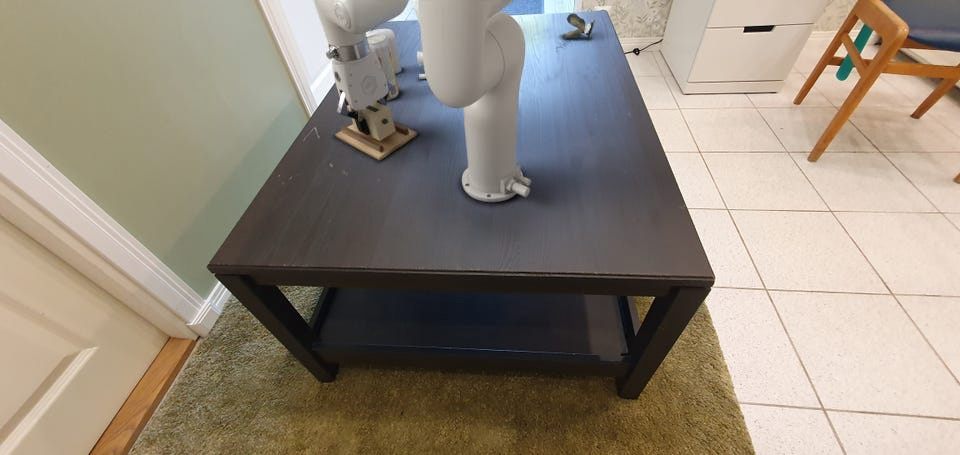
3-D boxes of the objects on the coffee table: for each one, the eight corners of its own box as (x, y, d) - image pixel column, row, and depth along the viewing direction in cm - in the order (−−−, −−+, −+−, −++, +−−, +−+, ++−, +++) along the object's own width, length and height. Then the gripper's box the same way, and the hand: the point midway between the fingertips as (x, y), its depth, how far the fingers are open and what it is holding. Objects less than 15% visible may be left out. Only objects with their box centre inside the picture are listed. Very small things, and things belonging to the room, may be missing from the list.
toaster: (370, 119, 92) (363, 96, 87) (398, 131, 88) (392, 108, 83) (355, 128, 89) (346, 105, 85) (382, 142, 85) (375, 119, 81)
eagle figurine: (591, 28, 124) (565, 21, 124) (598, 13, 117) (570, 6, 117) (586, 48, 123) (559, 42, 124) (592, 35, 116) (564, 28, 116)
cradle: (373, 114, 97) (371, 106, 95) (417, 135, 90) (415, 126, 88) (336, 137, 91) (332, 129, 89) (379, 160, 84) (377, 152, 82)
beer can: (388, 87, 106) (374, 32, 95) (404, 93, 103) (392, 36, 92) (373, 97, 103) (357, 41, 91) (388, 103, 100) (374, 46, 89)
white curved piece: (398, 66, 114) (389, 23, 105) (404, 71, 112) (395, 28, 103) (367, 76, 111) (354, 33, 102) (372, 82, 108) (360, 38, 99)
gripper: (326, 70, 69) (356, 150, 82) (394, 37, 77) (411, 115, 91) (303, 60, 72) (335, 139, 86) (370, 30, 81) (390, 106, 94)
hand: (374, 126), depth 88 cm, fingers closed on toaster, 5 cm apart
